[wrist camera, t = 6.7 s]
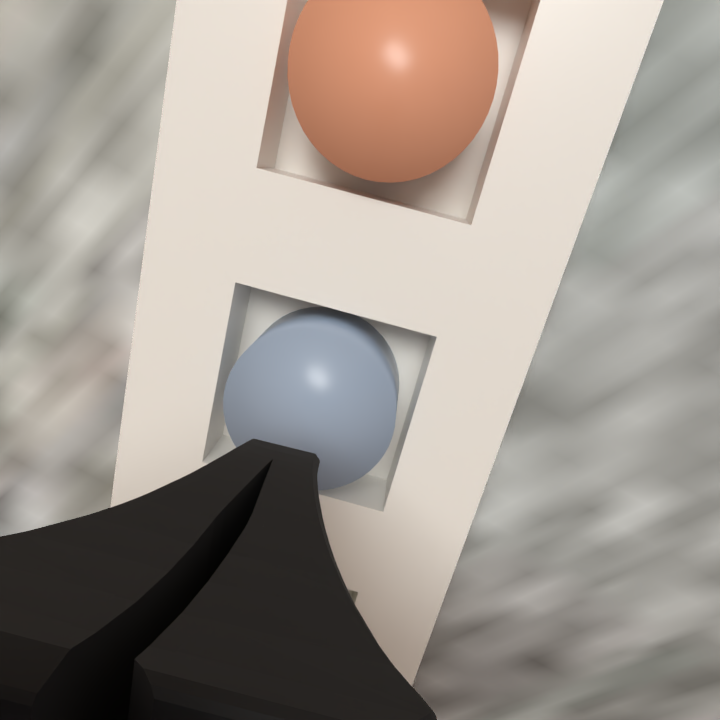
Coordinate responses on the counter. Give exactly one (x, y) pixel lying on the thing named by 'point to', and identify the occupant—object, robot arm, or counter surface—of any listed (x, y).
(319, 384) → the blue button
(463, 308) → the button panel
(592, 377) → the counter surface
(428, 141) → the terracotta button
